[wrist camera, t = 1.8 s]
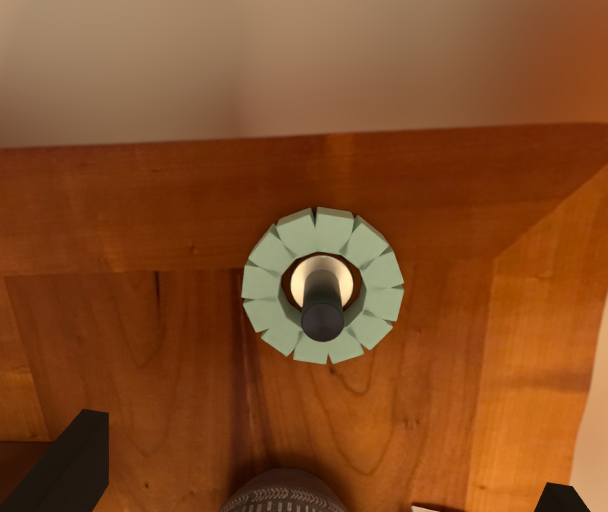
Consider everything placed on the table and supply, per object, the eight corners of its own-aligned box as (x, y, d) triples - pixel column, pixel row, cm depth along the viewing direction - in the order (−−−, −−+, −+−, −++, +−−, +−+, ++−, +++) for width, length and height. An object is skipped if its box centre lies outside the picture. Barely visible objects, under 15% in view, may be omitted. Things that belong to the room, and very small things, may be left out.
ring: (219, 289, 28) (211, 303, 26) (310, 175, 26) (310, 180, 23) (330, 370, 30) (331, 389, 28) (426, 271, 27) (436, 283, 25)
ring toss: (278, 284, 28) (266, 328, 22) (317, 238, 27) (317, 270, 21) (325, 320, 29) (327, 371, 23) (365, 276, 28) (379, 318, 22)
